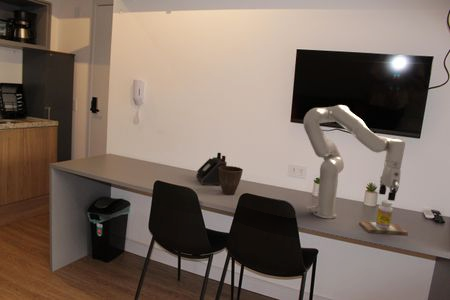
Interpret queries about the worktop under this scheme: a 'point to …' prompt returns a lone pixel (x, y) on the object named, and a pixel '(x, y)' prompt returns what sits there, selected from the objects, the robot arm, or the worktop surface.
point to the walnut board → (373, 228)
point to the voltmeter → (211, 170)
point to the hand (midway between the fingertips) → (386, 197)
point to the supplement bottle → (384, 214)
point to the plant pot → (229, 179)
